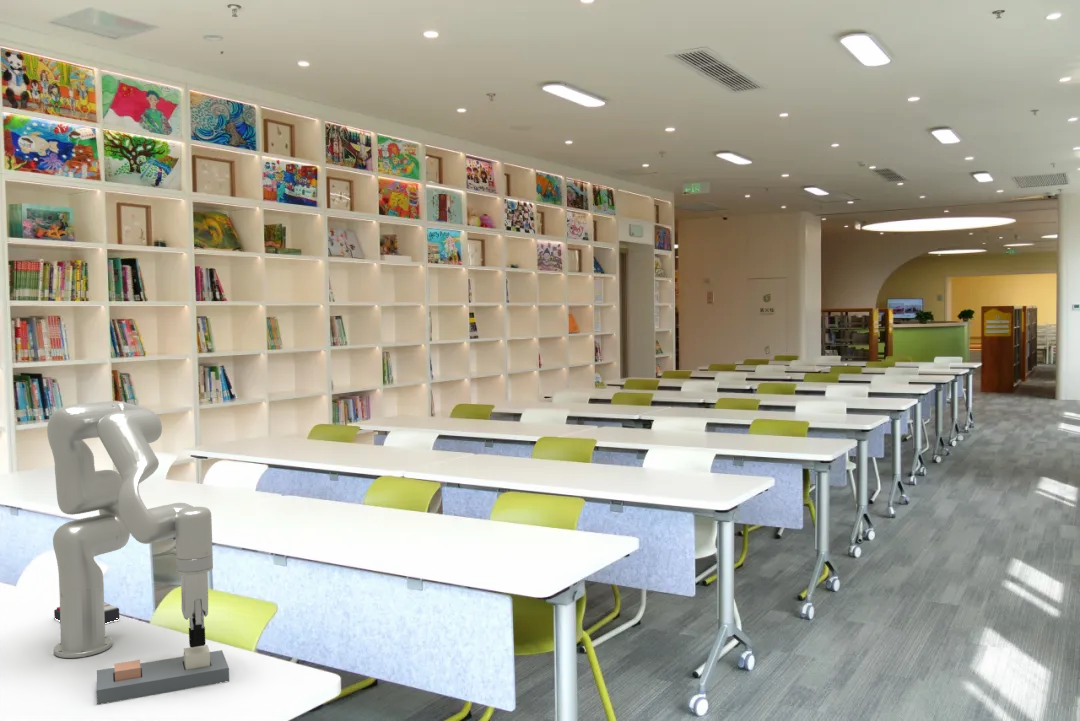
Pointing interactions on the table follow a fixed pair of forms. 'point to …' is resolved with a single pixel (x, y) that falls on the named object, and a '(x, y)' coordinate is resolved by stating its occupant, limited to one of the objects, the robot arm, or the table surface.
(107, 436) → the robot arm
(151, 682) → the key panel
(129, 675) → the terracotta key
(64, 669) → the table surface
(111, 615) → the calculator
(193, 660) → the cream key
